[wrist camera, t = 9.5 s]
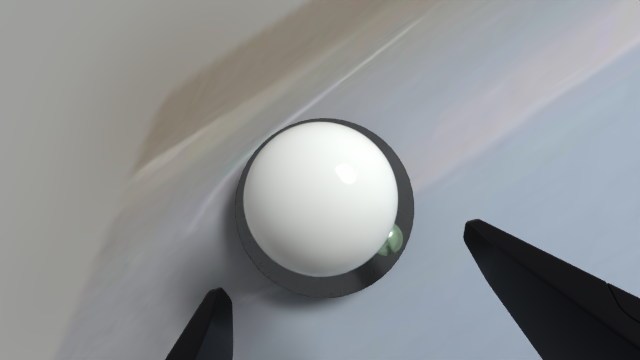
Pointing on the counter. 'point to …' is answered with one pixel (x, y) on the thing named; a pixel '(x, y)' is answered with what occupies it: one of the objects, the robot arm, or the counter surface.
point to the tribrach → (351, 279)
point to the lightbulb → (320, 199)
